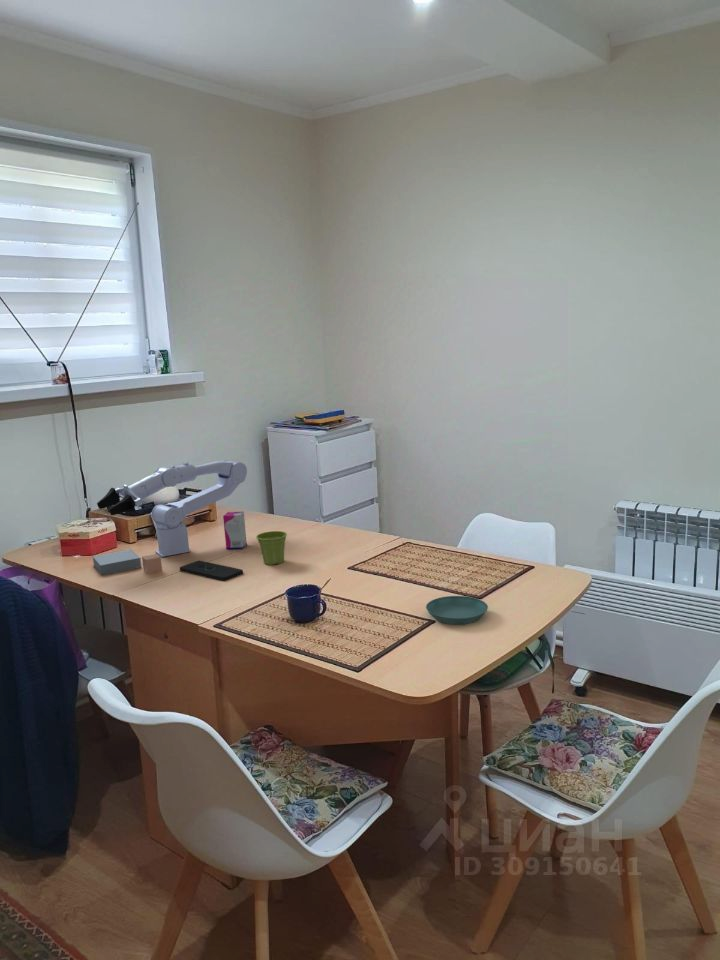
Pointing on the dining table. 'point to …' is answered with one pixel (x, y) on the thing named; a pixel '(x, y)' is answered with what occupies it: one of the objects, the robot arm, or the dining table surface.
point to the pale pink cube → (152, 563)
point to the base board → (116, 561)
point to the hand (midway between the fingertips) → (104, 509)
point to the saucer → (457, 609)
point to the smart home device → (211, 570)
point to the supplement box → (235, 530)
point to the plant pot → (272, 546)
